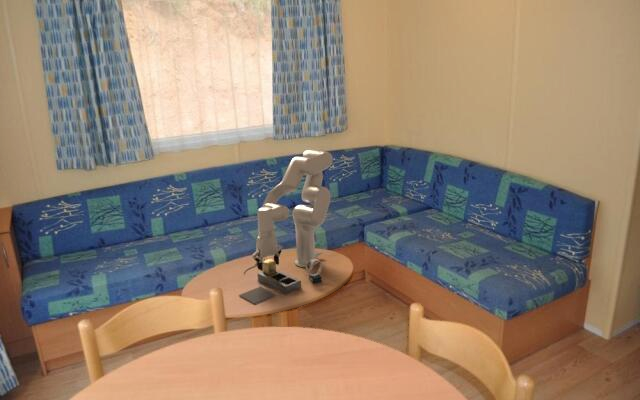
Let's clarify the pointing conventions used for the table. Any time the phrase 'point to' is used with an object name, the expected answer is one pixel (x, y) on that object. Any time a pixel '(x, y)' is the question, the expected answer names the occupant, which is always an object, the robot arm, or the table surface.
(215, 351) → the table surface
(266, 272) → the tan rectangular block
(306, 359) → the table surface
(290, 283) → the grey compartment tray
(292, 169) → the robot arm
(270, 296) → the mat
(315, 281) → the watch
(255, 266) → the pliers
